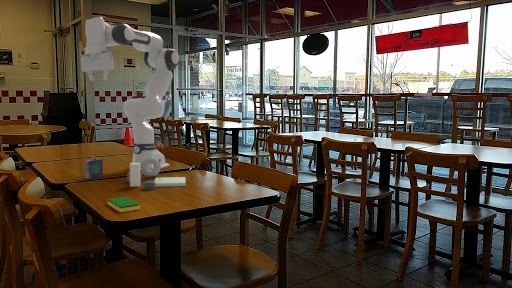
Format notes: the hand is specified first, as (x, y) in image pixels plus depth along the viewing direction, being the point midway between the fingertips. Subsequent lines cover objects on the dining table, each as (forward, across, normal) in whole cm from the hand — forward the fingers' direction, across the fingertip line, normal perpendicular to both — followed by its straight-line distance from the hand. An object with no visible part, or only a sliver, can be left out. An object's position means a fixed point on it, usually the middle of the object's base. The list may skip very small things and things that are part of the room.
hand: (98, 80), depth 199 cm
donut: (+49, -18, -14) cm, 53 cm away
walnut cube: (+48, -20, -1) cm, 52 cm away
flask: (+48, +3, +4) cm, 48 cm away
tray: (+49, -37, -6) cm, 62 cm away
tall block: (+48, -27, +6) cm, 56 cm away
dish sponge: (+49, -52, +34) cm, 79 cm away
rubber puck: (+49, -38, +7) cm, 62 cm away
